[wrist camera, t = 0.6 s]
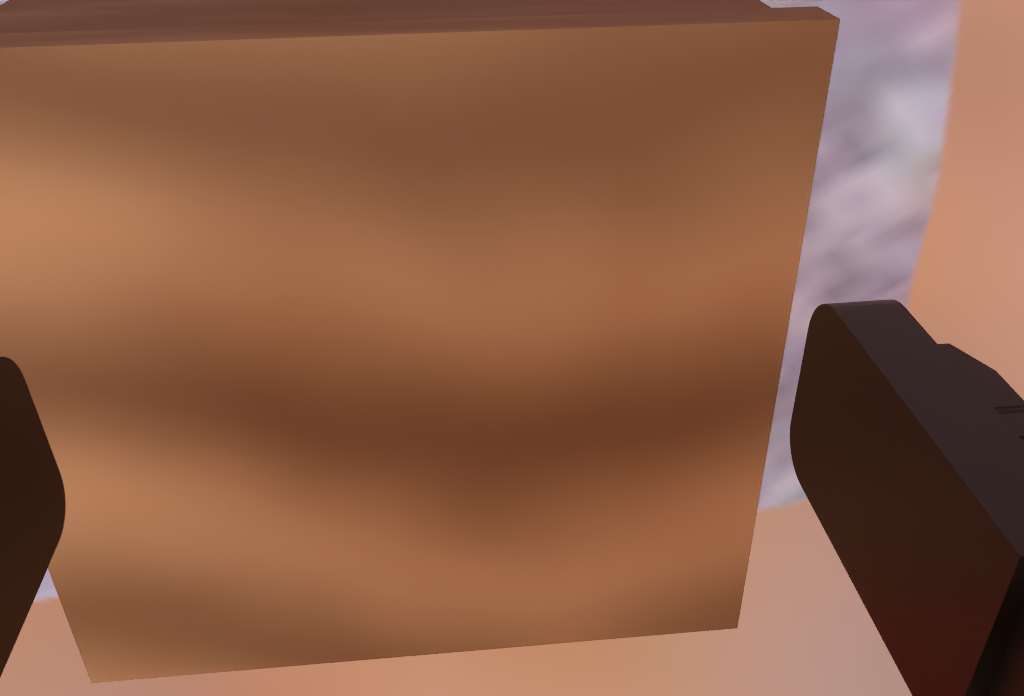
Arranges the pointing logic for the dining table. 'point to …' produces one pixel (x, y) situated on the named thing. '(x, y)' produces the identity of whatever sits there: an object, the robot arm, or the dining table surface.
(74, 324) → the bread box
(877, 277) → the dining table surface
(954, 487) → the robot arm
